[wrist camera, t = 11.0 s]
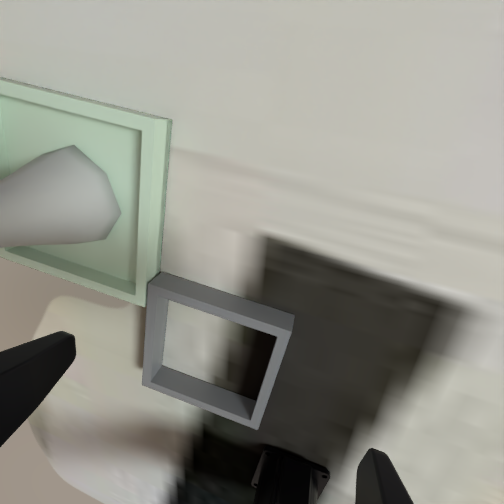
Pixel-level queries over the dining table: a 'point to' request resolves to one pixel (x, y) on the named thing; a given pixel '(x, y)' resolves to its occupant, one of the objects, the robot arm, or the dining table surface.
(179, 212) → the dining table surface
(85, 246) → the tray
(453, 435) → the dining table surface
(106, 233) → the flask
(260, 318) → the socket
